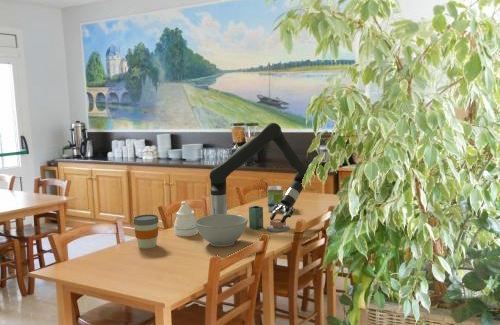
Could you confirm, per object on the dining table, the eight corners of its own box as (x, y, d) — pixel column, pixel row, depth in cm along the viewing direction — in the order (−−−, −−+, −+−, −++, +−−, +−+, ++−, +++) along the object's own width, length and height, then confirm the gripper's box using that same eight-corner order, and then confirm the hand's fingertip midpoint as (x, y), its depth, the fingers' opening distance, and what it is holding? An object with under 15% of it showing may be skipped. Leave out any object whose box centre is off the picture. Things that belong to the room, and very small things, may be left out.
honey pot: (193, 236, 267) (192, 204, 265) (171, 235, 270) (169, 203, 268) (200, 230, 280) (199, 199, 278) (179, 229, 282) (177, 198, 280)
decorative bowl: (237, 233, 271) (236, 212, 269) (256, 246, 246) (255, 222, 245) (189, 240, 261) (188, 217, 259) (205, 254, 236) (204, 229, 234)
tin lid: (278, 229, 273) (277, 222, 273) (270, 227, 278) (270, 220, 277) (285, 227, 277) (285, 220, 277) (278, 225, 282) (277, 218, 282)
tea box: (283, 211, 319) (283, 189, 318) (267, 212, 320) (267, 189, 318) (282, 206, 334) (281, 185, 332) (267, 207, 335) (267, 185, 333)
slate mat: (272, 233, 269) (272, 231, 269) (263, 227, 281) (263, 226, 281) (293, 230, 274) (293, 228, 274) (283, 225, 286) (283, 223, 286)
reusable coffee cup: (135, 250, 245) (133, 221, 243) (134, 243, 257) (132, 215, 255) (161, 248, 248) (159, 218, 246) (158, 241, 260) (157, 213, 258)
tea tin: (256, 229, 278) (255, 208, 276) (249, 227, 282) (248, 207, 280) (263, 227, 281) (262, 207, 280) (256, 226, 285) (256, 205, 284)
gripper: (278, 192, 285) (264, 215, 279) (296, 195, 275) (281, 219, 269) (284, 199, 290) (271, 222, 284) (302, 203, 279) (288, 227, 273)
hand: (276, 221), depth 276 cm, fingers open, 8 cm apart
